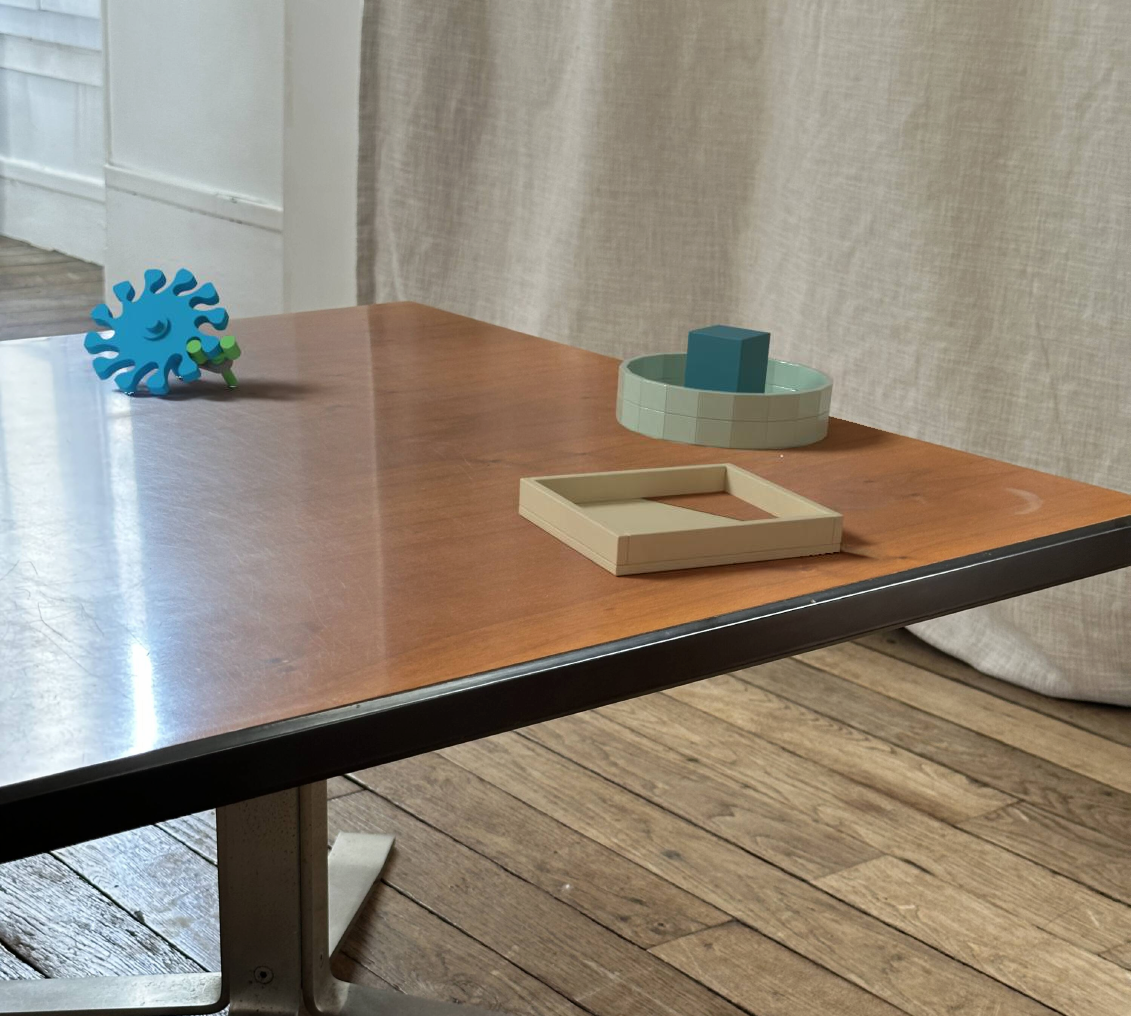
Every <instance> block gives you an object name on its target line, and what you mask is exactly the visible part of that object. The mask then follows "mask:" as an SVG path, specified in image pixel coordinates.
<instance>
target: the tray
mask: <svg viewBox="0 0 1131 1016" xmlns="http://www.w3.org/2000/svg"><path fill="white" fill-rule="evenodd" d="M715 492H726V493H727V494H730V495H731V496H734V497H736V498H738V499H740V500H742V501H743V502H746V503H748V504H750V505H752V506H754V507H756V508H758V509H760V510H761V511H765V512H767V513H769V514H770V515H772V516H775V517H776V518H764V519H755V520H742V519H738V518H734V517H730V516H725V515H720V514H715V513H711V512H706V511H703V510H698V509H693V508H688V507H684V506H679V505H675V504H670V503H666V502H662V501H658V500H653V499H648V498H653V497H654V498H655V497H664V496H665V497H666V496H667V497H668V496H678V495H692V494H702V493H703V494H704V493H715ZM518 500H519V501H518V504H519V505H518V515H520V516H521V517H523V518H524V519H526V520H527V521H529V522H530V523H532V524H534V525H535V526H537V527H538V528H540V529H542V530H543V531H545V532H546V533H548V534H549V535H551V536H552V537H554V538H556V539H557V540H559V541H560V542H562V543H564V544H565V545H566V546H568V547H570V548H571V549H573V550H574V551H576V552H578V553H579V554H580V555H582V556H584V557H585V558H587V559H588V560H590V561H592V562H593V563H594V564H596V565H598V566H600V567H601V568H603V569H604V570H606V571H607V572H609V573H610V574H612V575H614V576H616V577H618V576H626V575H627V576H628V575H629V576H630V575H638V574H647V573H655V572H656V573H657V572H665V571H677V570H686V569H695V568H704V567H705V568H706V567H713V566H725V565H733V564H734V563H735V564H743V563H752V562H753V563H754V562H762V561H773V560H782V559H792V558H802V557H809V556H810V555H812V556H820V555H819V554H821V555H826V554H825V553H831V554H834V553H833V552H839V553H840V552H841V543H842V536H843V529H844V520H845V515H843V514H841V513H839V512H837V511H835V510H833V509H830V508H829V507H826V506H825V505H822V504H819V503H817V502H815V501H813V500H811V499H809V498H807V497H804V496H803V495H800V494H798V493H795V492H794V491H791V490H789V489H787V488H785V487H783V486H781V485H779V484H777V483H774V482H773V481H770V480H768V479H765V478H763V477H761V476H758V475H757V474H754V473H752V472H751V471H748V470H746V469H743V468H741V467H739V466H737V465H735V464H732V462H731V463H730V462H724V463H711V464H710V463H709V464H696V465H695V464H693V465H680V466H668V467H666V466H665V467H653V468H643V469H642V468H641V469H638V468H637V469H627V470H626V469H625V470H612V471H602V472H601V471H598V472H586V473H584V472H583V473H571V474H558V475H542V476H531V477H521V478H520V479H519V499H518ZM801 556H802V557H801ZM810 557H811V556H810Z"/></svg>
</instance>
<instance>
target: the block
mask: <svg viewBox="0 0 1131 1016" xmlns="http://www.w3.org/2000/svg"><path fill="white" fill-rule="evenodd" d="M771 335H772V334H771V332H767V331H761V330H754V329H748V328H743V327H737V326H730V325H723V324H716V325H710V326H706V327H702V328H697V329H692V330H689V331H688V335H687V337H688V338H687V347H686V348H687V349H686V352H687V358H686V370H685V382H684V387H688V388H694V389H701V390H711V391H723V392H734V393H765V384H766V374H767V364H768V358H769V355H770V354H769V353H770V344H771Z"/></svg>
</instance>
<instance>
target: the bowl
mask: <svg viewBox="0 0 1131 1016" xmlns="http://www.w3.org/2000/svg"><path fill="white" fill-rule="evenodd" d="M686 358H687V351H676V352H657V353H649V354H648V353H647V354H642V355H641V354H640V355H635V356H633V357H630V358H627V359H624V360H623V361H622V362H621V363H620V364H619V366H618V375H617V392H616V393H617V394H616V404H615V405H616V406H615V418H616V419H617V421H618V423H619V424H620V425H622V427H624V428H626V429H627V430H630V431H632V432H634V433H637V434H639V435H643V436H645V437H650V438H653V439H657V440H661V441H665V442H671V443H677V444H681V445H688V446H695V447H704V448H714V449H727V450H779V449H791V448H798V447H803V446H809V445H812V444H815V443H817V442H820V441H822V440H823V439H824V438H826V437H827V435H828V427H829V419H830V411H831V403H832V394H833V387H834V386H833V385H834V377H832V376H831V375H829V374H828V373H826V372H825V371H823V370H820V369H816V368H815V367H811V366H809V365H805V364H803V363H802V364H801V363H796V362H793V361H787V360H783V359H777V358H770V357H768V364H767V374H766V384H765V393H734V392H723V391H711V390H701V389H694V388H688V387H684V382H685V370H686Z"/></svg>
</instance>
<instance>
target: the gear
mask: <svg viewBox="0 0 1131 1016" xmlns="http://www.w3.org/2000/svg"><path fill="white" fill-rule="evenodd" d="M143 278H144V282H145V283H144V288H143V291H142V293H141V294H140V296H139V298H138V299H137V300H134V298H135V297H136V290H135V288H134V286H133V285H132V284H131V282H130V280H124V281H120V282H119V283H116V284H114V285H113V286H112V292H113V294H114V295H115V297H116V298H117V300H118V301H119V302H120V303H121V305H122V306H121V307H122V312H121V314H120V315H119V316H118V317H115V318H114V314H113V313H112V310H110V307H109V306H108V305H107V304H106V303H104V302H100V303H99V304H97V305H96V306H95V307H94V308H93V310H92V311H91V312H90V313H89V315H90V317H91V319H92V320H93V321H94V323H95V324H96V326H98V327H105V328H109V329H111V330H112V331H114V333H113V335H112V336H111V337H109V338H103V337H102V336H101V335H100V334H99V333H98V331H94V330H91V331H88V332H87V333H86V335H85V337H84V341H83V347H84V348H85V350H86V351H87V353H88V354H90V355H98V354H101V353H105V352H113V353H117V356H115V357H112V358H109V357H105V356H97V357H96V358H95V357H94V359H92V367H93V370H94V372H95V374H96V375H97V376H98V378H99V379H100V381H105V380H108V379H110V378H111V377H112V376H113V375H114V374H115V373H117V372H118V371H120V370H122V369H123V370H124V369H126V368H130V367H133V368H132V369H131V370H129V371H123V372H120V373H118V374H117V375H116V376H115V377H114V379H113V380H114V383H115V385H116V386H117V387H118V388H119V390H120V391H121V390H122V391H124V392H127V393H130V392H134V393H135V392H136V391H137V389H138V386H139V384H140V382H141V381H142V379H143V378H144V377H145V376H146V375H148V374H149V373H151V372H152V371H154V370H156V371H155V372H154V373H152V374H151V375H150V376H148V378H147V379H146V381H145V385H146V388H147V389H148V391H149V392H150V393H151V394H153V395H159V396H160V395H167V394H168V393H169V391H170V384H169V374H170V372H172V374H174V376H175V377H176V376H178V377H179V376H181V377H182V379H181V380H183V382H184V383H191V382H194V381H197V379H200V378H202V372H201V370H205V371H207V372H211V373H214V374H219V375H220V374H221V377H222V378H223V380H224V382H225V383H226V385H227V386H228V385H229V386H236V387H237V386H238V385H239V382H238V380H237V378H236V376H235V374H234V373H233V370H232V369H231V368H232V367H233V365H234V361H235V360H237V359H239V358H240V357H241V355H242V349H241V348H240V347H239V344H238V343H237V341H236V339H235V337H234V336H233V335H225V336H222V338H221V339H219V337H217V336H215V335H209V334H205V333H203V332H202V331H200V330H199V328H200V327H201V325H204V324H210V325H211V326H212V327H213V329H215V330H216V331H219V332H221V331H222V332H223V331H226V329H227V327H228V325H229V322H230V321H229V320H230V316H229V314H228V311H227V309H226V308H224V307H215V308H213V309H207V310H200V309H197V308H196V306H198V305H206V306H209V307H212V306H216V305H218V304H219V303H220V296H219V294H218V292H217V290H216V288H215V286H214V283H213V282H206V283H204V284H202V285H201V286H200V287H199V288H198V289H196V290H195V291H193V292H190V293H187V294H183V295H180V294H181V293H184V292H188V291H192V290H194V289H195V288H196V287H198V284H199V283H198V281H197V279H196V277H195V276H194V273H192V272H191V271H190V270H188V269H186V268H184V267H182V268H180V269H179V270H177V271H176V273H175V276H174V278H173V281H172V282H171V283H170V284H169V285H168V286H167V287H166V288H164V287H165V285H166V284H167V277H166V275H165V274H164V272H163V270H161V269H158V268H150V269H148V268H147V269H146V270H145V271H144V273H143ZM163 288H164V289H163ZM161 289H163V290H161ZM159 290H161V291H160V292H158V291H159ZM157 292H158V293H157ZM122 391H121V392H122ZM124 392H123V393H124Z"/></svg>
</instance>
